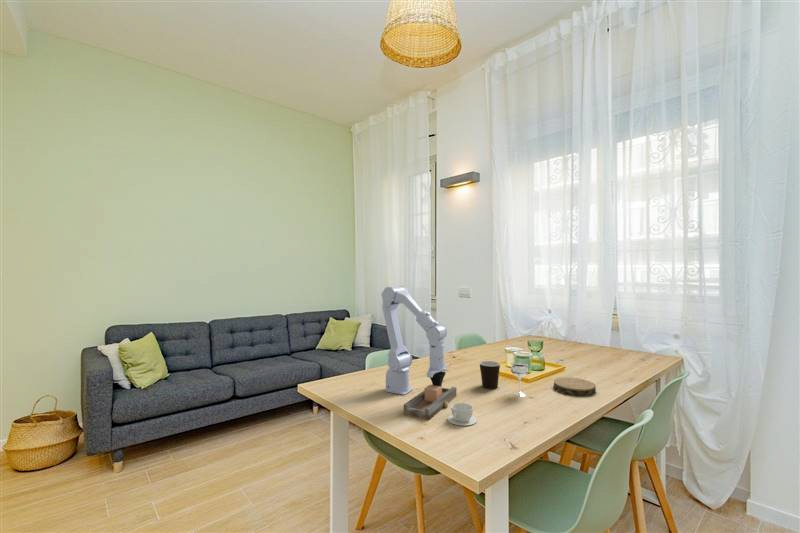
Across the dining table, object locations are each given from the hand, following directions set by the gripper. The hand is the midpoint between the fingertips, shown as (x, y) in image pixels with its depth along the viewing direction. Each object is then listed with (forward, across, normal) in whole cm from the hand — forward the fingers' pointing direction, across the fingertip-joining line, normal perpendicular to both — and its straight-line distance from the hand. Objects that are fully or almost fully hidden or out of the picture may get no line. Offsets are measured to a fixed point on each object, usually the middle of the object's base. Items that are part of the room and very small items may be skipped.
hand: (437, 390), depth 145 cm
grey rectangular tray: (+4, -5, 0) cm, 6 cm away
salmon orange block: (+2, -4, 0) cm, 4 cm away
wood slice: (+4, +38, -46) cm, 60 cm away
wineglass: (+4, +22, -27) cm, 35 cm away
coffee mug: (+4, +27, -14) cm, 30 cm away
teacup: (+4, -13, -15) cm, 20 cm away
